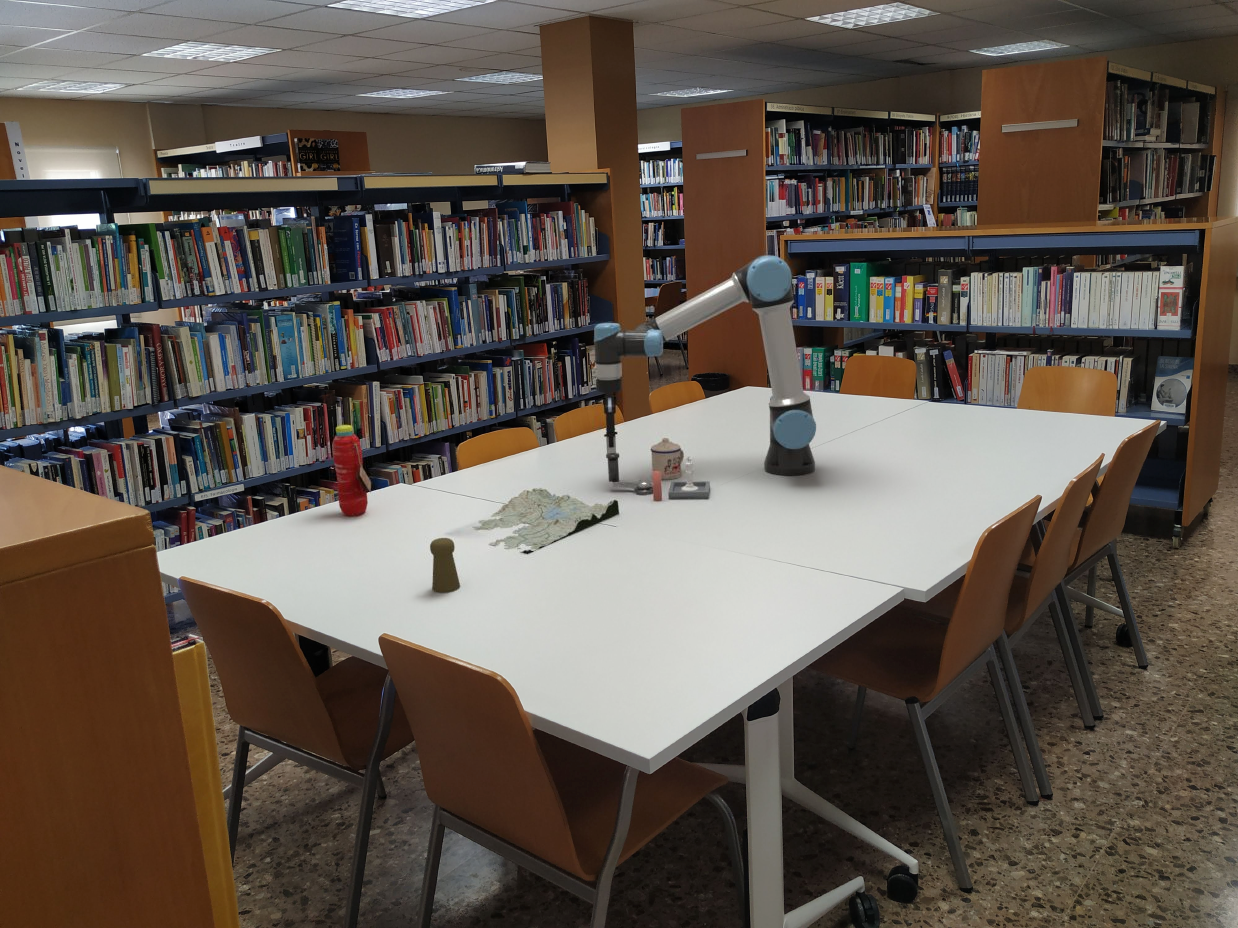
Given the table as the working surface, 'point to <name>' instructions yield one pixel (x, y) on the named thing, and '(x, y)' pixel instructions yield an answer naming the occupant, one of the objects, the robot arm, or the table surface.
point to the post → (657, 486)
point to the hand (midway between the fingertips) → (611, 457)
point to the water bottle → (350, 472)
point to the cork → (444, 566)
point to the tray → (678, 494)
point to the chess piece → (689, 477)
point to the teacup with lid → (667, 459)
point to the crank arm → (614, 475)
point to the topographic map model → (545, 518)
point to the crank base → (643, 491)
